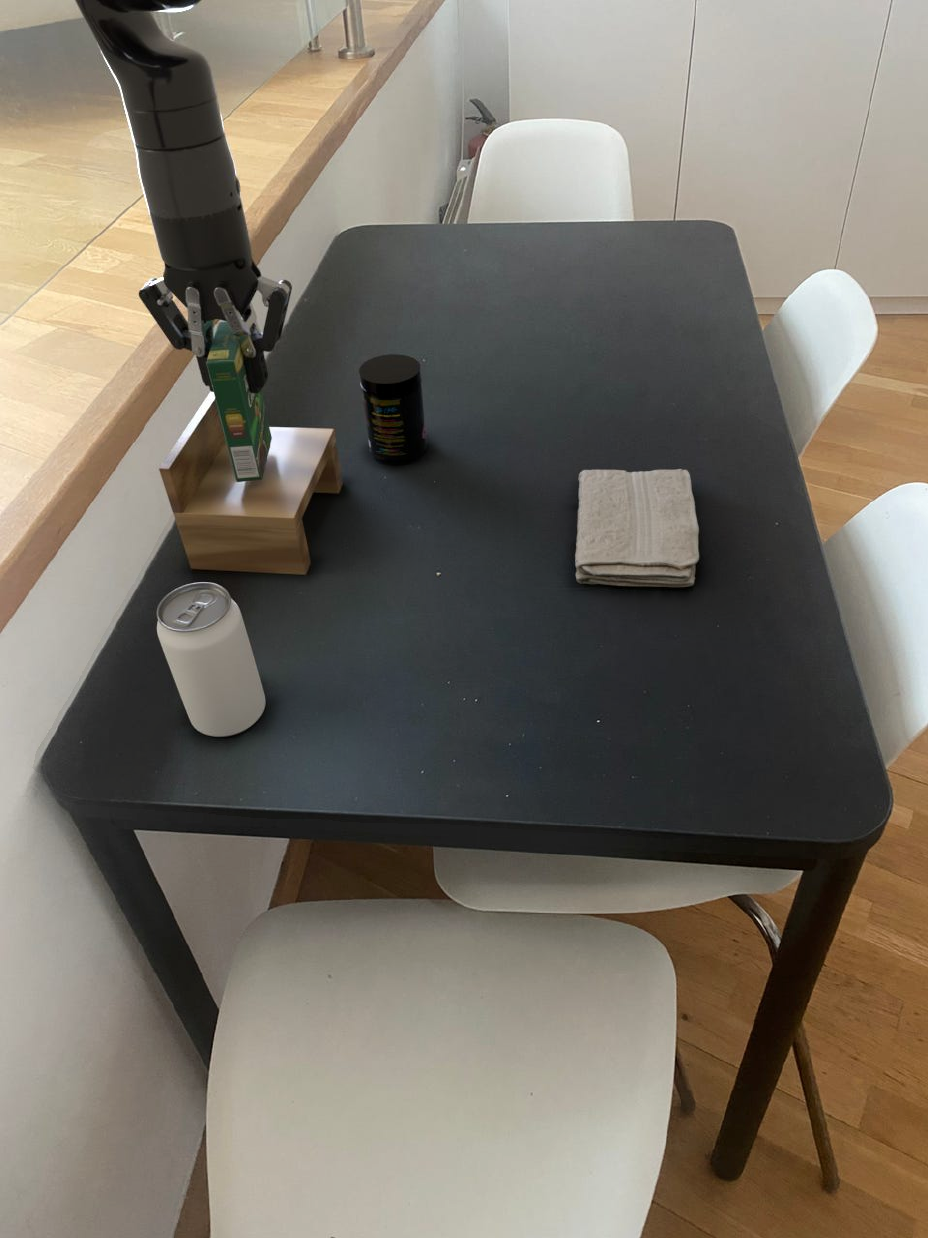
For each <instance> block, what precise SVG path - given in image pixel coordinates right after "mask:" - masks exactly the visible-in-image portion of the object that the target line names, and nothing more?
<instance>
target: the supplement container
mask: <svg viewBox="0 0 928 1238" xmlns="http://www.w3.org/2000/svg"><path fill="white" fill-rule="evenodd" d="M358 373H359V383H360V389H361V394H362V401H363V409H364V416H365V417H364V418H365V425H366V432H367V439H368V446H369V447H368V448H369V451H370V453H371V455H372V456H373V458H375V459H376V460H377V461H379V462H381V463H384V464H388V465H404V464H407V463H411V462H414V461H416V460H417V459H418V458H420V457H421V456H422V455H423V454H424V453H425V451H426V449H427V445H428V443H427V432H426V431H427V430H426V422H425V410H424V409H425V408H424V407H425V406H424V398H423V396H424V395H423V387H422V386H423V385H422V382H423V379H422V370H421V364H420V362H419V361H418V360H417V359H416V358H414V357H412V356H409V355H405V354H398V353H391V354H382V355H378V356H373V357H371V358H370V359H367V360H366V361H364V362H363V363H361V365H360V367H359V369H358Z"/></svg>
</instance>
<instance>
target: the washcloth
mask: <svg viewBox="0 0 928 1238" xmlns="http://www.w3.org/2000/svg"><path fill="white" fill-rule="evenodd" d="M577 480H578V482H579V484H578V486H579V487H578V491H577V493H578V500H579V501H578V509H577V524H576V528H577V533H576V542H575V545H576V546H575V547H576V549H575V554H574V558H575V560H574V562H575V563H574V564H575V568H576V572H575V578H576V582H577V584H580V585H584V584H585V585H586V584H587V585H598V584H599V585H606V586H617V587H653V588H655V587H657V588H685V587H692V586H694V585H695V581H696V577H695V575H696V564H697V563H698V562H699V560H700V551H699V532H700V527H699V523H698V518H697V513H696V505H695V504H696V502H695V497H694V495H693V489H692V488H693V487H692V479H691V474H690V472H689V471H688V469H682V468H678V469H665V468H664V469H654V470H650V471H649V470H646V471H641V470H640V471H631V472H630V471H629V472H628V471H627V470H624V469H622V470H621V469H583V470H582V471H580V472H579V474H578V478H577Z"/></svg>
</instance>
